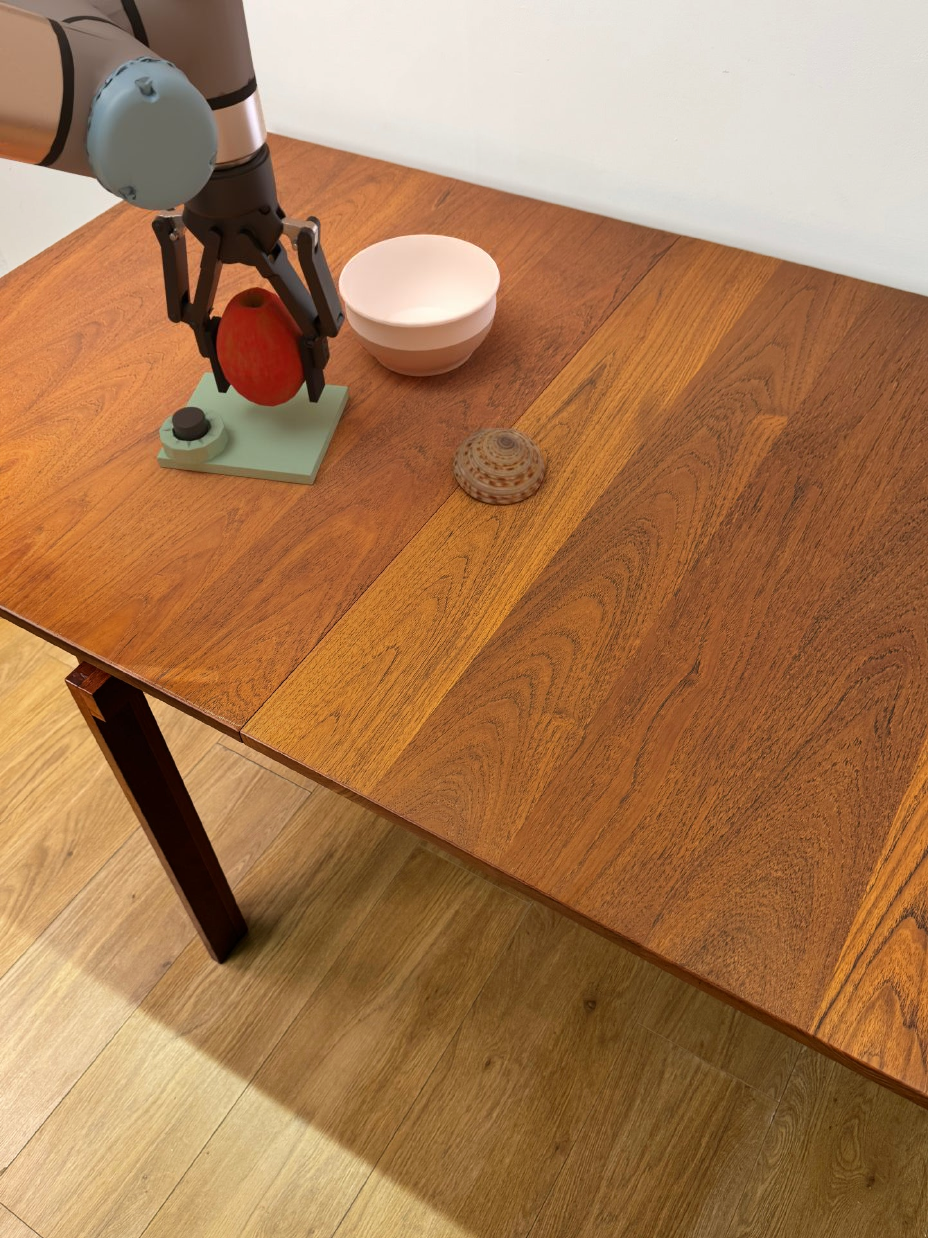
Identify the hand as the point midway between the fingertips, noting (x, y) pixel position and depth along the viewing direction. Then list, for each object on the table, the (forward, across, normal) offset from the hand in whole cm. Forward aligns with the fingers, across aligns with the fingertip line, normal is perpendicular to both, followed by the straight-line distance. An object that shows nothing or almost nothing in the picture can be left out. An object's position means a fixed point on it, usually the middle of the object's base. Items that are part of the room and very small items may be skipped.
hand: (272, 388), depth 94 cm
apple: (0, 0, 0) cm, 0 cm away
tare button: (+2, -6, -5) cm, 8 cm away
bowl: (+5, +11, +15) cm, 19 cm away
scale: (+4, -2, -1) cm, 5 cm away
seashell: (+5, +22, -3) cm, 23 cm away
